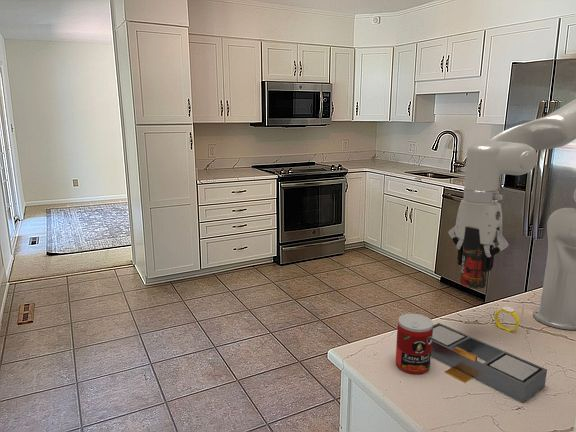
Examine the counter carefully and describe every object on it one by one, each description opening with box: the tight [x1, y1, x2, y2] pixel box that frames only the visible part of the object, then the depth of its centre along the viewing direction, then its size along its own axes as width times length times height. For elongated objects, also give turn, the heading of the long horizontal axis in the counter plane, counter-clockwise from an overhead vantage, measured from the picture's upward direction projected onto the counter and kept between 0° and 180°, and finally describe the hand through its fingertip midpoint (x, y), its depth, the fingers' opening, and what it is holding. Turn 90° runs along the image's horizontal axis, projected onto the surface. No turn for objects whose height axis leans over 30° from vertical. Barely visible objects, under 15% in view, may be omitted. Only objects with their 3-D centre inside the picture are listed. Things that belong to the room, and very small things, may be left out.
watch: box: [493, 306, 520, 332], centre depth 117 cm, size 6×3×6 cm, turn 39°
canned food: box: [395, 313, 434, 375], centre depth 100 cm, size 8×8×11 cm
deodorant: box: [459, 227, 488, 289], centre depth 109 cm, size 6×6×15 cm
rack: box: [431, 322, 548, 404], centre depth 99 cm, size 12×26×5 cm, turn 36°
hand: (474, 266), depth 110 cm, fingers closed on deodorant, 5 cm apart
